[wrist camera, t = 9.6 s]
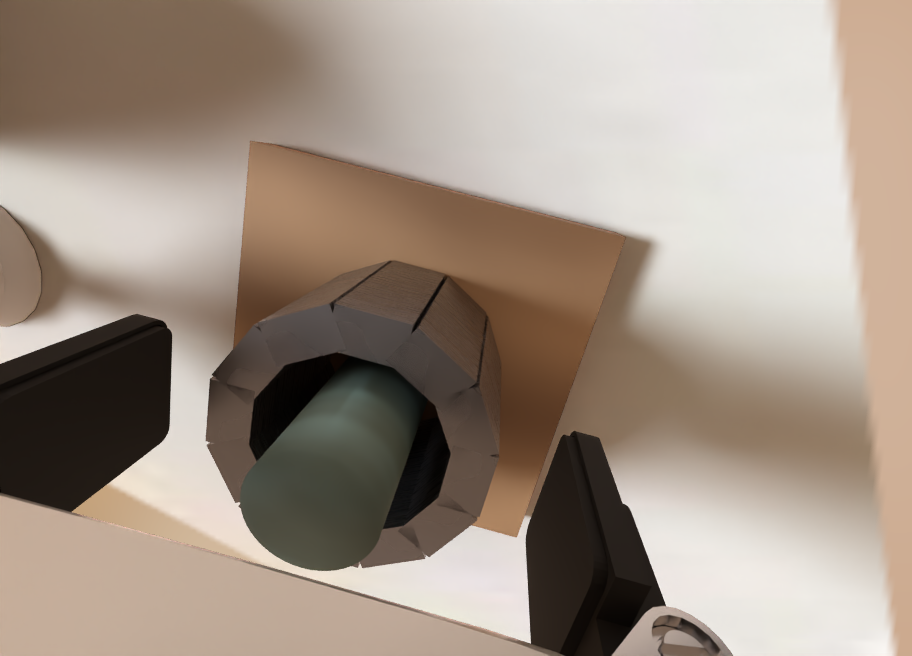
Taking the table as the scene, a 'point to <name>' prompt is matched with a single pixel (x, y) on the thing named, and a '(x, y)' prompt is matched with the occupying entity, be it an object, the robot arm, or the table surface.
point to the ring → (388, 343)
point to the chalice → (17, 273)
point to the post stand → (381, 387)
